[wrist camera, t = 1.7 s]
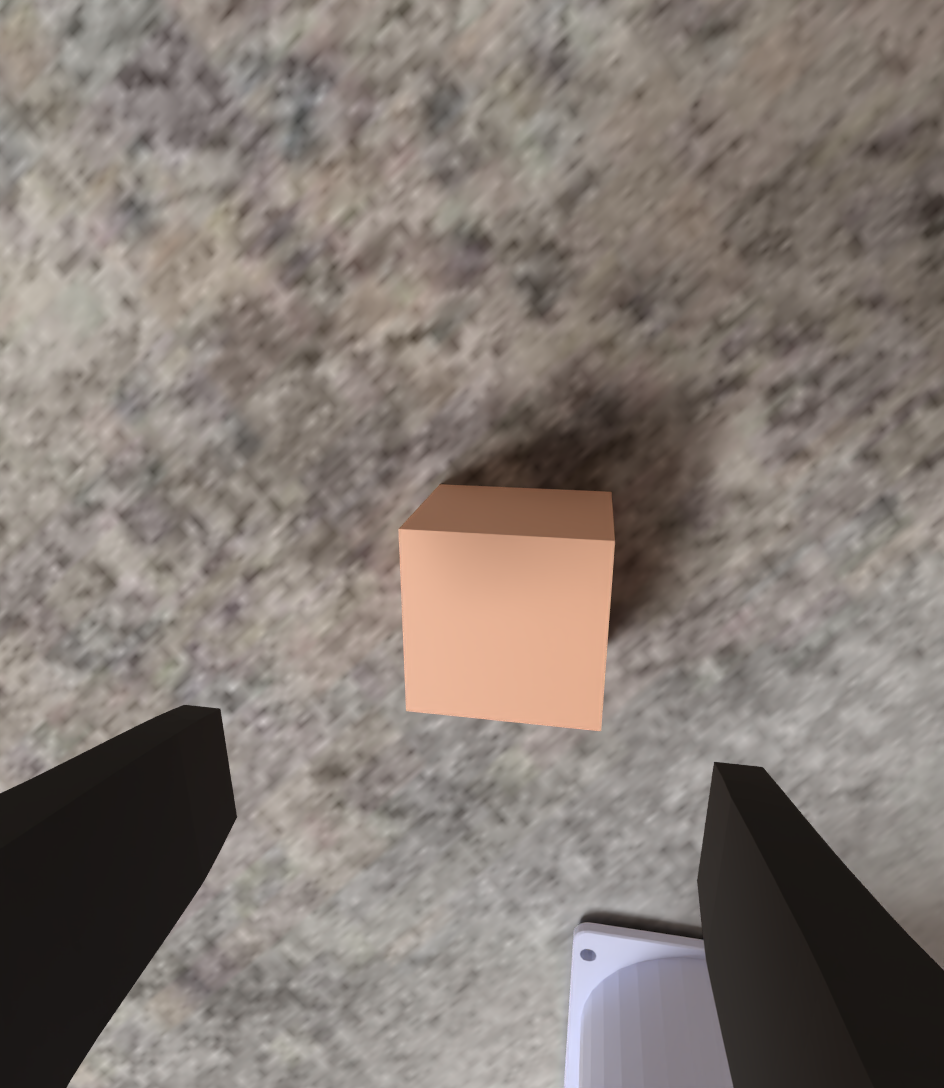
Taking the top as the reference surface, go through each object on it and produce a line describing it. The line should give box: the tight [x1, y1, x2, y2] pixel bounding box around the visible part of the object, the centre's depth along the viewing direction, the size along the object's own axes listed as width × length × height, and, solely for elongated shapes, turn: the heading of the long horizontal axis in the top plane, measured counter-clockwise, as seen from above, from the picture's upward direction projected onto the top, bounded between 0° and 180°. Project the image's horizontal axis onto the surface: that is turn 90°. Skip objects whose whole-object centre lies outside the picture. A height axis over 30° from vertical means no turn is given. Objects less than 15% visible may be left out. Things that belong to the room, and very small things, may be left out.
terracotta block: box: [399, 484, 615, 731], centre depth 16 cm, size 4×4×4 cm
